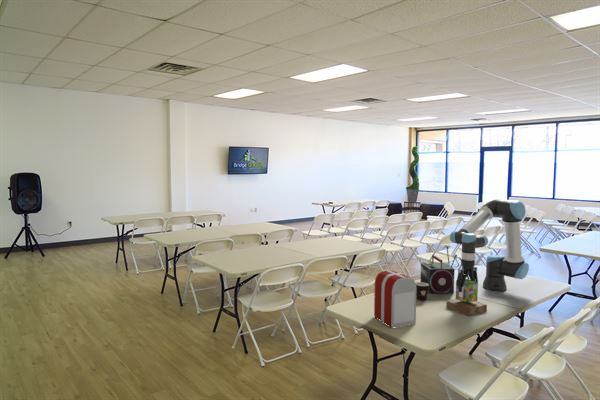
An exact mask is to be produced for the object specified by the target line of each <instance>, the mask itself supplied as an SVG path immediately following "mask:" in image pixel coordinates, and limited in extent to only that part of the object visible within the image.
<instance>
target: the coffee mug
mask: <svg viewBox="0 0 600 400" xmlns="http://www.w3.org/2000/svg"><path fill="white" fill-rule="evenodd" d="M415 283H416V301H420V300H421V301H420V302H423V301H424V300H425V301H427V298H428V294H429V293H428V286H429V284H427V283H424V282H420V281H415ZM425 301H424V302H425Z"/></svg>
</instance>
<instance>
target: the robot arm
mask: <svg viewBox="0 0 600 400" xmlns="http://www.w3.org/2000/svg"><path fill="white" fill-rule="evenodd" d="M526 211H527V210H526V207H525V204H524V203H523V202H522V201H520V200H515V199H513V200H512V199H492V200H491V201H488V202H486V203H485V204H484V205H482V206H481V207H480V208H479V209H478V212H477V213H476V214H475V215H474V216H472V217H471V219H469V221H467V222H466V223H465V224H464V225H463V226H462V227H461V228H460V229H459V230H458V231H456V230H455V231H452V232H450V234H449V241H450V243H452V244H456V245H461V259H460V265H461V269H460V268H459V269H457V272H458V273H457V277H456V280H457V282H456V281H455V286H456V285H457V286H459V297H462V298H463V294H464V287H463V284H464V282H465V279H467V276H469V280H472V281H475V282H478V283H479V280H478V267H476V266H475V265H476V260H475V259H476V249H478V248H479V249H480V248H483V247H486V246H487V245H488V244H489V238H488V237H487V236H486V235H485V234H475V233H476V232H477V231H478V230H479V229H480V228H481V227H482V226H483V225H484V224H485V223H487V221H488V220H491V219H492V218H495V217H499V218H501V221H502V222H503V223H504V230H505V231H504V232H505V246H506V256H505V255H503V254H493V255H488V256H487V257H486V264H485V265H486V266H485V277H484V280H483V282H482V287H483V288H484V289H486V290H489V291H490V290H491V291H497V292H502V291H503V292H504V291H507V284H506V283H507V282H506V279H505V277H508V278H513V279H516V280H517V279H518V280H523V279H525V278H526V277H527V276H528V273H529V268H530V266H529V263H528V262H525V258H524V257H523V256H522V241H521V228H520V227H521V225H520V223H521V222H522V221H523V219H524V218H525V217H526Z"/></svg>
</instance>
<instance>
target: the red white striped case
mask: <svg viewBox="0 0 600 400" xmlns="http://www.w3.org/2000/svg"><path fill="white" fill-rule="evenodd" d="M373 293H374V298H373V299H374V301H373V302H374V307H373V309H374V310H373V317H374V316H375V317H376V318H378V319H380V320H381V321H382V322H384V323H386V324H387V325H389V326H390V327H392V328H393V327H399V328H401V327H400V326H403V327H406V326H405V325H408V326H410V325H409V324H413V325H415V324H414V323H416V320H417V317H416V316H417V299H416V281H415V280H414V278H412V277H410V276H408V275H405V273H401V272H399V271H395V270H393V269H392V270H391V269H390V270H389V269H385V270H382V271H380V272H379V273H378V274H377V275H376V276H375V280H374V292H373ZM376 318H375V319H376ZM382 322H381V323H382ZM387 325H386V326H387ZM390 327H389V328H390ZM392 328H391V329H392Z"/></svg>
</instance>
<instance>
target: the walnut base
mask: <svg viewBox="0 0 600 400" xmlns="http://www.w3.org/2000/svg"><path fill="white" fill-rule="evenodd" d="M445 302H446V305H445V307H446V308H448V309H450V310H453V311H455V312H457V313H459V314H463V315H465V316H468V317H470V316H473V315H476V314H481V313H485V312H487V311H488V310H487V309H488V305H487V304H486V303H483V302H480V301H478V300H477V301H473V302H469V303H467V302H464V301H461V300H458V299H456V298H453V299H449V300H448V299H447V300H446V301H445Z"/></svg>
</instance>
